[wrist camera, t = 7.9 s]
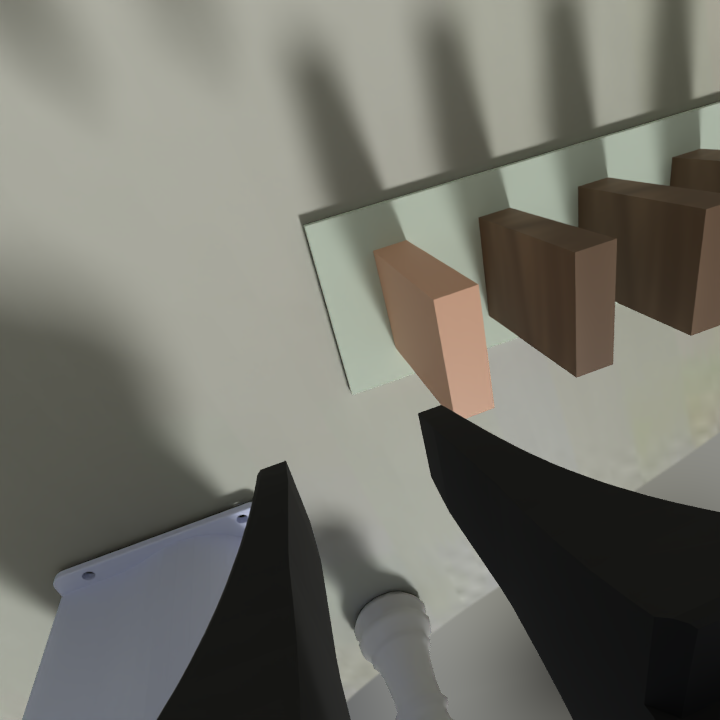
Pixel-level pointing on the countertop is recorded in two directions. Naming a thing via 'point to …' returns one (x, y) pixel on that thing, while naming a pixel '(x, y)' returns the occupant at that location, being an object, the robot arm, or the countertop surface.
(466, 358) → the terracotta domino
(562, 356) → the domino
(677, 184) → the domino
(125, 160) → the countertop surface
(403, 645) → the rook chess piece
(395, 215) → the sage mat
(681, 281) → the domino
